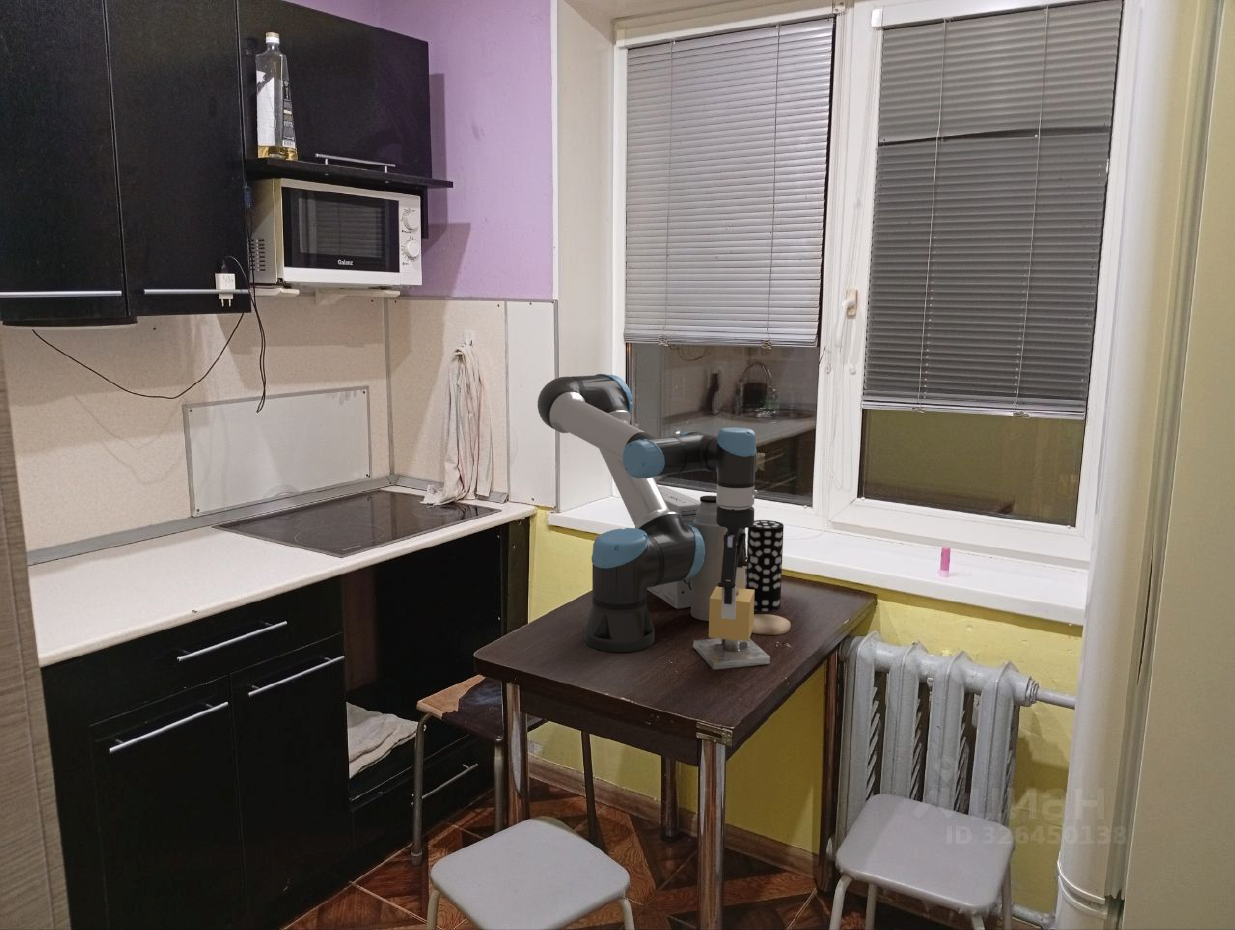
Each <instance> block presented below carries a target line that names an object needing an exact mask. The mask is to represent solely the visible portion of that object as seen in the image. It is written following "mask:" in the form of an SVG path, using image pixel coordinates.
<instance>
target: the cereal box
mask: <svg viewBox="0 0 1235 930" xmlns="http://www.w3.org/2000/svg"><path fill="white" fill-rule="evenodd" d="M658 487H659V490H660V492H661V494H662V496H663V498H664V500H665V502H666V504H667V506H668V508H669V510H670V511H673V512H676V513H678V514H679V515H680V517H681V519H682V521H683V524H684V525H691V526H693V520H694V519H696V511H697V510H699V509H700V503H701V501H700V499H699V500H698V499H696V498H693V497H691V496H690V495H686V494H684V493H681V492H678V491H677V490H674V489H672V488H669V487H667V486H664V485H663V486H661V485H660V486H659V485H658ZM691 590H692V577H690V578H687V579H684V580H683V581H676V582H671V583H667V584H663V585H658V586H654V587H650V588H647V591H649V592H650V593H652V594H653V595H655V596H656V597H658V598H659V599H661V600H663V601H664V602H666V603H667V604H668V605H670V606H672V607H673V608H676V609H677V610H678V609H684V608H689V607H690V608H691Z"/></svg>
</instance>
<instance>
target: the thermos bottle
mask: <svg viewBox="0 0 1235 930" xmlns="http://www.w3.org/2000/svg"><path fill="white" fill-rule="evenodd" d="M699 501H701V503H700V509H699V510H697V511H696V519H694V520H693V527H695V528H697V529H698V530H699V532H700V533H701V535H702V537H703V540H704V545H705V556H704V562H703V565H702V567H701V569H700V571H699V572H698V573H697V574H696V575H694V576H693V577H692V590H691V607H690V615H691V617H693V618H694V619H696V620H700V621H707V622H709V610H710V597H711V595H712V593H713V591H714V590H715V588H716V586H717V587H718V583H720V582H721V573H722V561H723V550H724V540H723V539H724V535H726V532H727V528H726V527H721V526H719V525H718V524H717V523H716V511H717V507H718V506H719V505H718V504H717V503H716V495H702V496H700V497H699Z"/></svg>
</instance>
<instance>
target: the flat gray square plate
mask: <svg viewBox="0 0 1235 930" xmlns="http://www.w3.org/2000/svg"><path fill="white" fill-rule="evenodd" d="M692 647H693V649H694V650H695V651H696V652H697V653H698V654H699V656H700V657H701V658H702V659H703V660H705V662H706V663H707V665H708V666H710V667H711V668H712V670H722V669H723V670H725V669H732V668H742V667H750V666H751V667H753V666H760V665H761V666H762V665H763V666H764V665H770V663H771V661H770V660H771V657H770V655H769V654H767V653H766V652H765V651H764V649H762V648H761V647H760V646H759V645H758V644H757V643H755V641H753V640H752V639H751V637H750V638H749V641H740V640H730V639H721V638H706V639H697V640H696V639H693V646H692Z"/></svg>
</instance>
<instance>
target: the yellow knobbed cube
mask: <svg viewBox="0 0 1235 930" xmlns="http://www.w3.org/2000/svg"><path fill="white" fill-rule="evenodd" d="M754 593H755V590H751V589H746V588H745V589H740V588H736V617H735V620H733V619H722V618H721V605H722V587H717V586H716V588H715V590H714V591H713V593H712V595H711V597H710V610H709V621H708V638H710V639H715V638H721V639H730V640H740V641H749V638H750V639H751V635H752V630H753V621H754V615H755V614H754V613H755V610H754Z"/></svg>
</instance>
